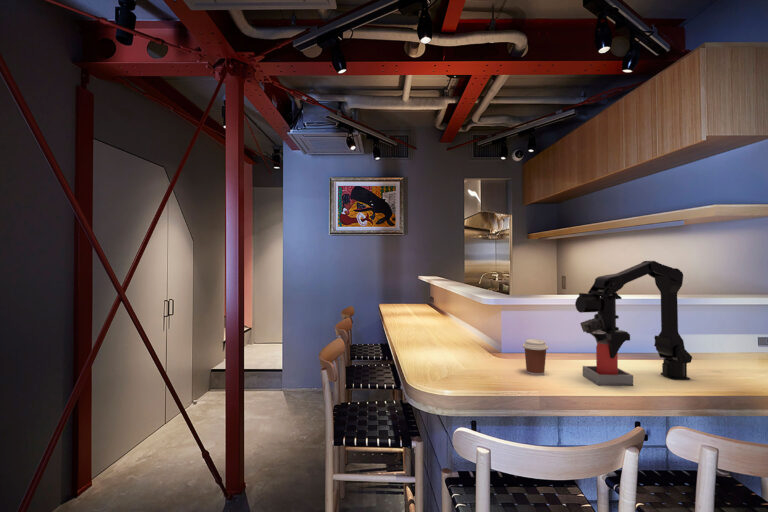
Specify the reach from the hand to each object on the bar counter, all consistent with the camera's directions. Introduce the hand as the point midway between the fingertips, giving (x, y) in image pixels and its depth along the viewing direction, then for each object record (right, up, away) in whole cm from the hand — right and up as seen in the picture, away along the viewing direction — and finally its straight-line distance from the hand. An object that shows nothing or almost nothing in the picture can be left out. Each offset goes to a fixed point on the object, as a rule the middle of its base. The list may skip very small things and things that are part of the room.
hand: (606, 355), depth 140 cm
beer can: (0, -7, 0) cm, 7 cm away
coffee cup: (-22, -9, +10) cm, 25 cm away
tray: (0, -9, 0) cm, 9 cm away
